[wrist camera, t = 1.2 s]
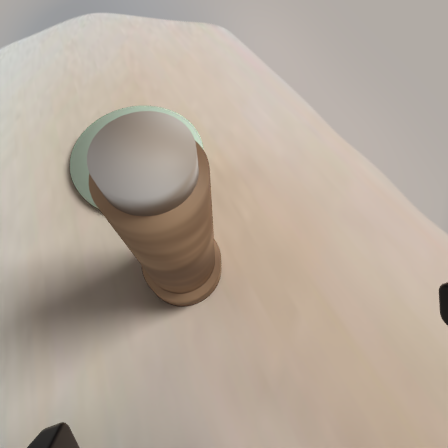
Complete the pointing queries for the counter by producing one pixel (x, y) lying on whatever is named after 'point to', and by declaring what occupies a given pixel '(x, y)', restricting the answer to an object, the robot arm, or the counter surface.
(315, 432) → the counter surface
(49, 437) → the robot arm
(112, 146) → the pepper mill
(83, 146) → the rubber mat
